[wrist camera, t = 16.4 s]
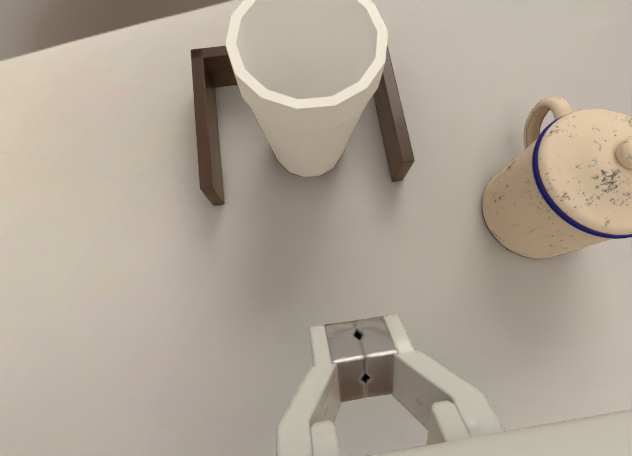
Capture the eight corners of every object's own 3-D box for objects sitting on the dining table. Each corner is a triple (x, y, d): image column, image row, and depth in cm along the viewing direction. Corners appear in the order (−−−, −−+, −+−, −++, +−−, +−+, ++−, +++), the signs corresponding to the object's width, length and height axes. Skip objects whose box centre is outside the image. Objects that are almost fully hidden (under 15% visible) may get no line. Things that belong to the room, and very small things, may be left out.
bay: (213, 205, 32) (199, 188, 28) (203, 79, 36) (190, 49, 32) (402, 180, 33) (415, 160, 29) (375, 59, 37) (383, 27, 33)
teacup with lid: (595, 256, 32) (752, 214, 20) (491, 267, 31) (592, 232, 20) (555, 131, 35) (671, 36, 23) (460, 140, 34) (533, 48, 23)
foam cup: (352, 97, 35) (375, -30, 23) (366, 187, 33) (401, 99, 20) (253, 106, 35) (221, -19, 22) (260, 197, 33) (229, 114, 20)
